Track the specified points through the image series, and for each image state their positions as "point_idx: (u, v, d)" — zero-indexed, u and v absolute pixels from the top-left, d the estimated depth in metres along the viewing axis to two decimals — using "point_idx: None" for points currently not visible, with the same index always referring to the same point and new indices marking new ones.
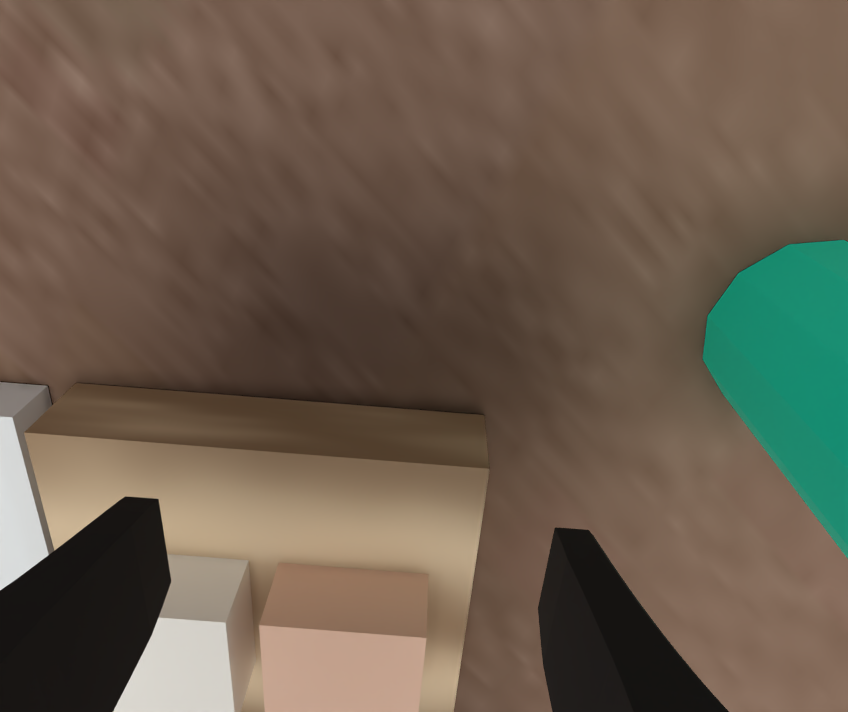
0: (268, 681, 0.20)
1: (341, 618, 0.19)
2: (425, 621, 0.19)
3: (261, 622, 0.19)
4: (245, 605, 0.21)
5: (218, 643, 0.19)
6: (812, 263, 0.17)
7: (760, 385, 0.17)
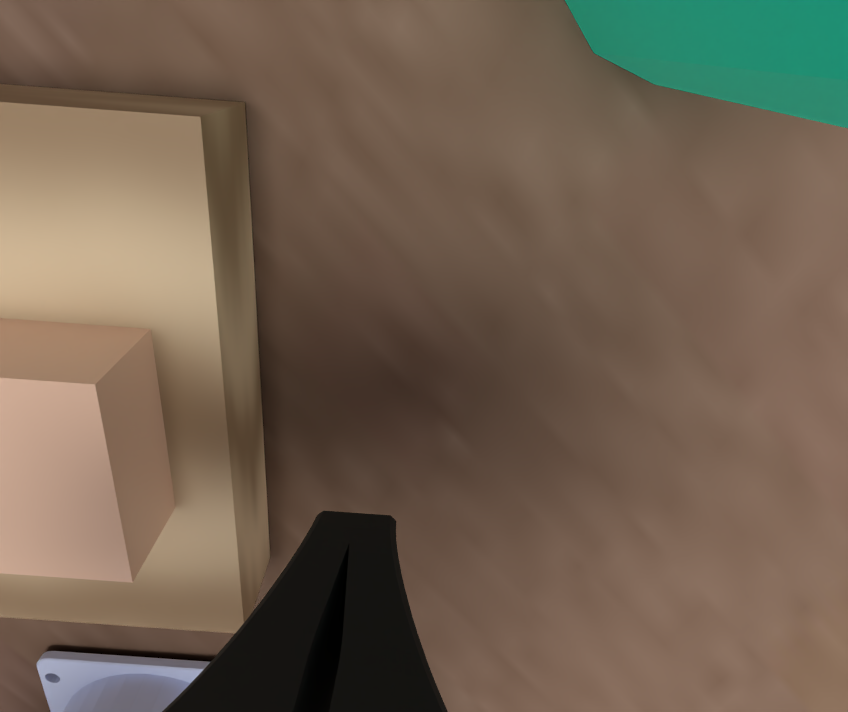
0: None
1: None
2: (107, 369, 0.12)
3: None
4: None
5: None
6: None
7: None
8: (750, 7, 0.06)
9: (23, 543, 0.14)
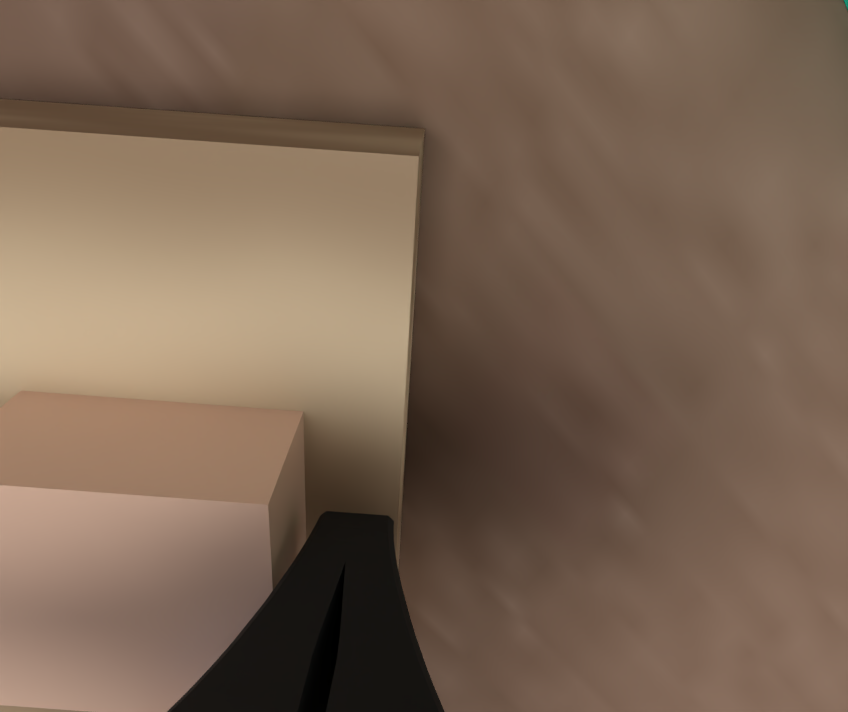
0: None
1: (100, 470, 0.09)
2: (275, 478, 0.10)
3: None
4: None
5: None
6: None
7: None
8: None
9: (150, 682, 0.11)
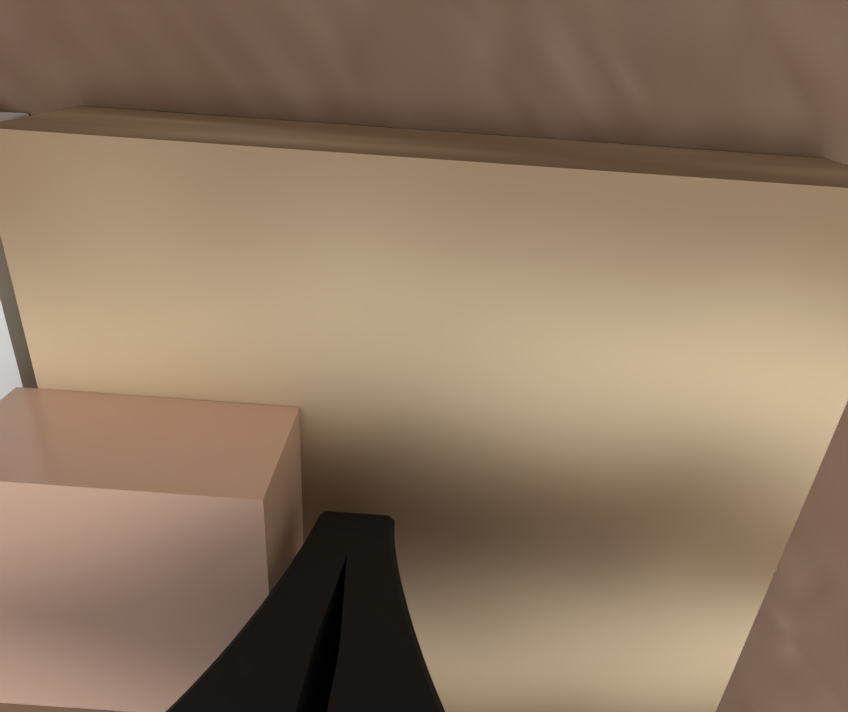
0: None
1: (93, 466, 0.09)
2: (270, 474, 0.10)
3: None
4: None
5: None
6: None
7: None
8: None
9: (146, 678, 0.11)
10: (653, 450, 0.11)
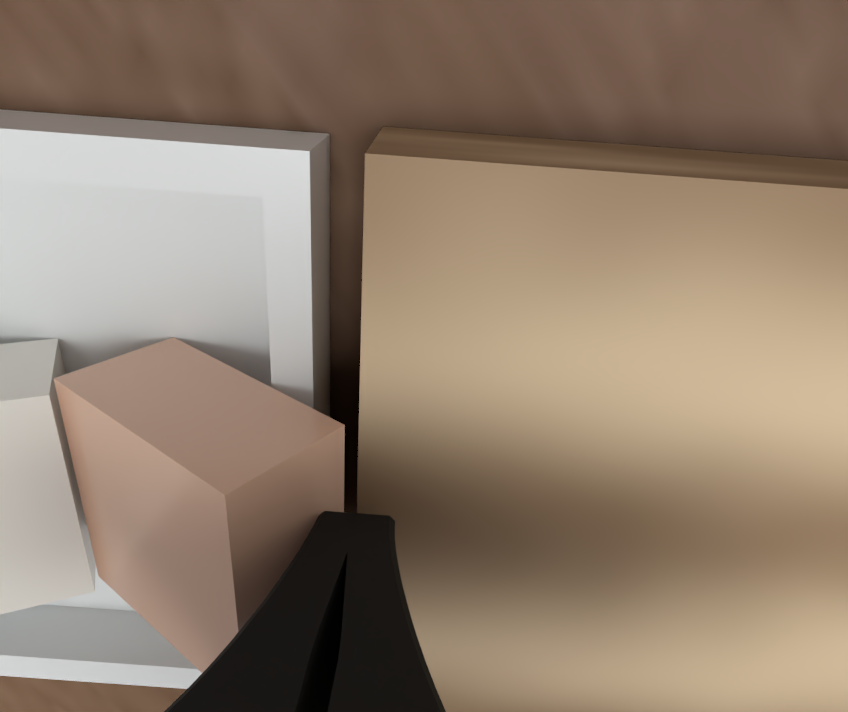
0: (83, 491, 0.13)
1: (150, 416, 0.11)
2: (255, 475, 0.10)
3: (59, 376, 0.12)
4: None
5: None
6: None
7: None
8: None
9: (168, 613, 0.12)
10: None
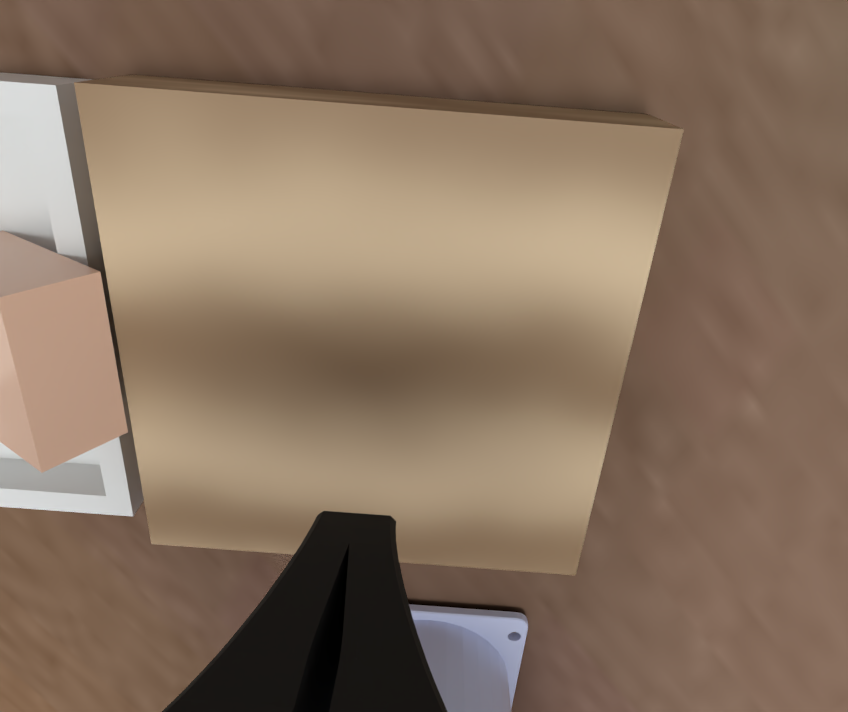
0: None
1: None
2: (23, 290, 0.15)
3: None
4: None
5: None
6: None
7: None
8: None
9: None
10: (523, 311, 0.17)
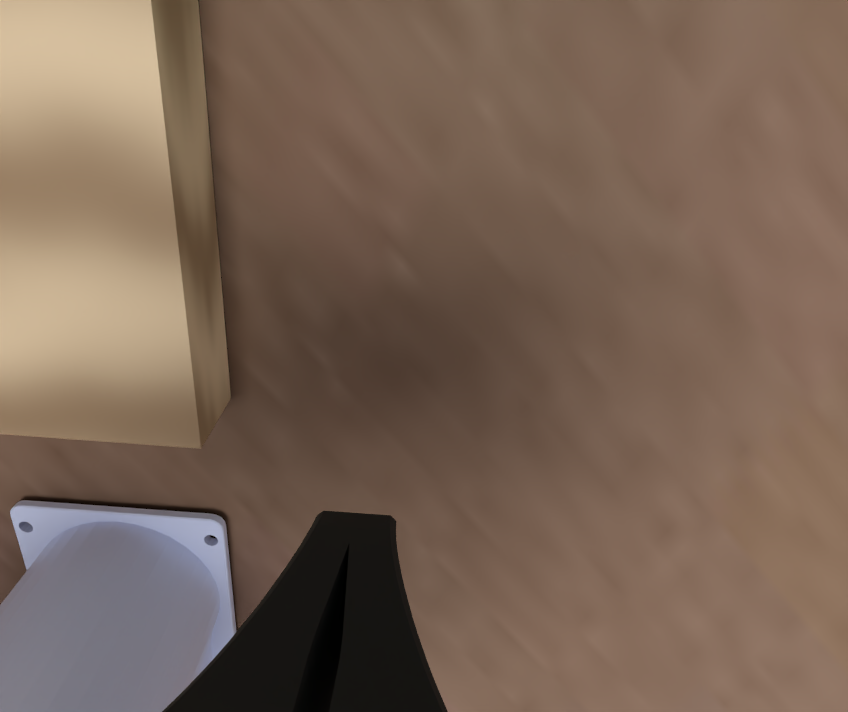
0: None
1: None
2: None
3: None
4: None
5: None
6: None
7: None
8: None
9: None
10: (36, 117, 0.15)
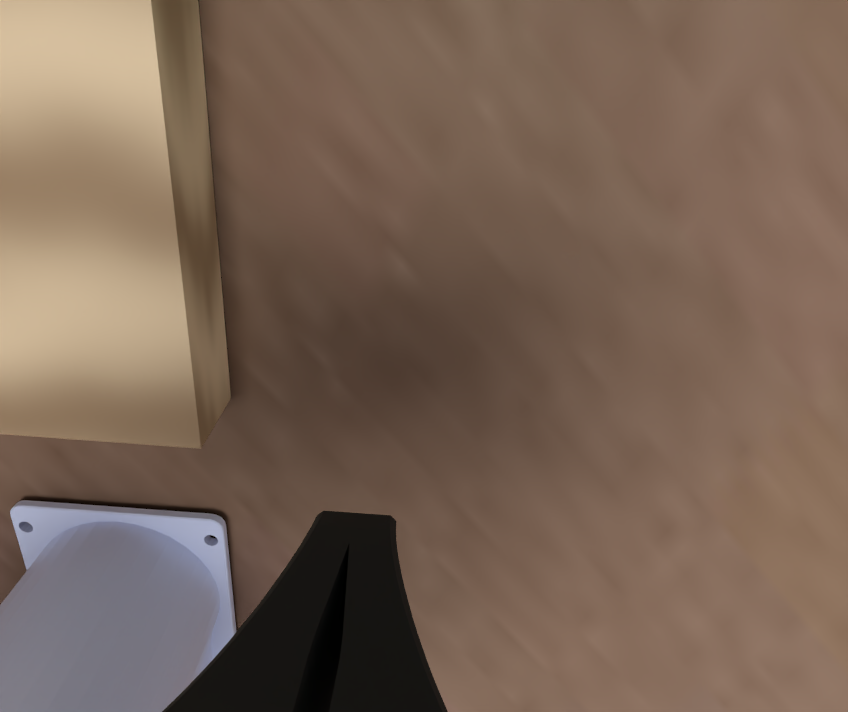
0: None
1: None
2: None
3: None
4: None
5: None
6: None
7: None
8: None
9: None
10: (36, 117, 0.15)
